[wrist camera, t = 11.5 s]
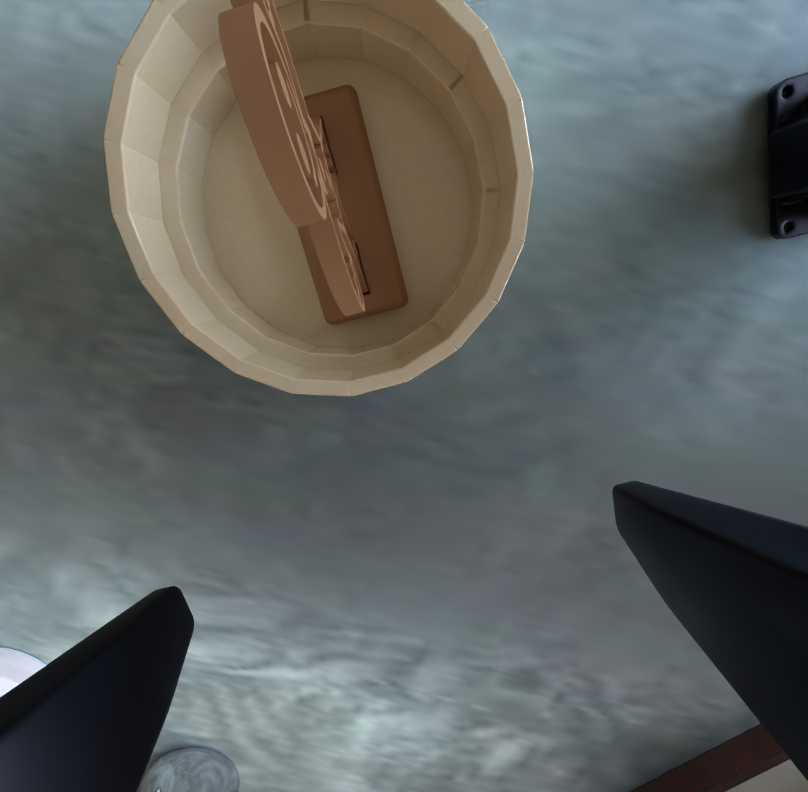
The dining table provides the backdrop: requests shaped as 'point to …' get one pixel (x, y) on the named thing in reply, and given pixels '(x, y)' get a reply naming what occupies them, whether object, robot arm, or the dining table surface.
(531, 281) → the dining table surface
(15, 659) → the candle
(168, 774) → the beer glass
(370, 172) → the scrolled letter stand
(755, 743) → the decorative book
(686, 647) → the dining table surface
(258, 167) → the bowl
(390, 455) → the dining table surface
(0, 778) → the robot arm
